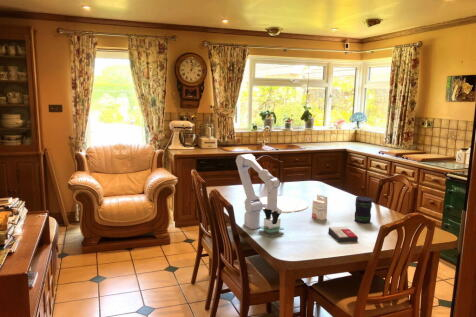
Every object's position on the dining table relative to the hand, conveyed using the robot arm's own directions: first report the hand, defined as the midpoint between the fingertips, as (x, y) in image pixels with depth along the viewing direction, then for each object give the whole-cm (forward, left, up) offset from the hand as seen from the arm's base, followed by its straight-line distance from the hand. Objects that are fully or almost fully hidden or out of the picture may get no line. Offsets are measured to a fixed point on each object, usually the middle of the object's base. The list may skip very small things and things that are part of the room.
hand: (271, 222), depth 220 cm
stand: (0, 0, -6) cm, 6 cm away
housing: (0, 0, -3) cm, 3 cm away
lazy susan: (-44, +43, -7) cm, 62 cm away
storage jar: (+13, +63, -7) cm, 65 cm away
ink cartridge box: (-6, +44, -7) cm, 45 cm away
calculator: (+26, +30, -7) cm, 41 cm away
